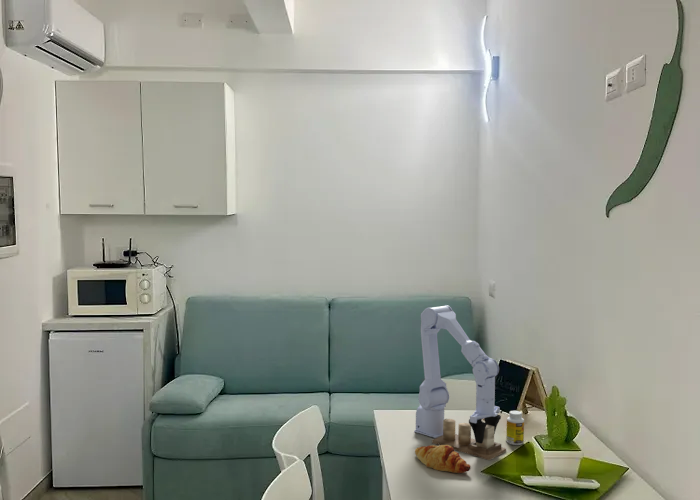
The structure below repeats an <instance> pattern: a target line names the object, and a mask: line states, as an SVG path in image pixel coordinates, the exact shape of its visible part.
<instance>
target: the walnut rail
mask: <svg viewBox="0 0 700 500" xmlns="http://www.w3.org/2000/svg"><path fill="white" fill-rule="evenodd" d="M457 433H458V434H457ZM457 433H456V420H455V419H453V418H444V420H443V435H442V436H440V437H438V438H434V439H432V440H431V443H432V444H433V445H436V446H439V445H449V446H451V447H453V448H454V451H456V452H459V453H465V454H468V455H470V456H474V457H477V458H481V459H484V460H488V461H491V460H493V459H494V458H496V457H498V456H500V455H502V454H504V453H506V452H507V448H506V447H503V446H502V443H499V442H496V441H494V446H492V447H490V448H488V449H487V448H483V447H480V446H476V440H475V438H474V439H473V438H472V427H471V425H470V424H469V422H459V423H458V432H457Z"/></svg>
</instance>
